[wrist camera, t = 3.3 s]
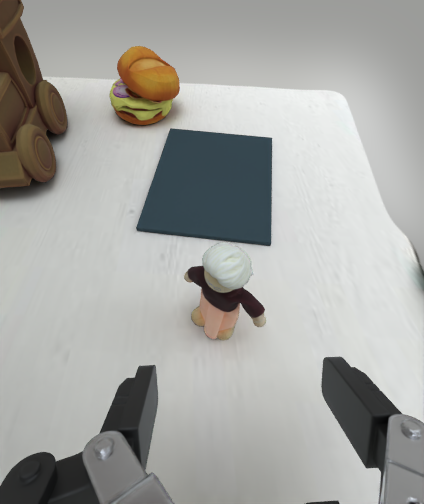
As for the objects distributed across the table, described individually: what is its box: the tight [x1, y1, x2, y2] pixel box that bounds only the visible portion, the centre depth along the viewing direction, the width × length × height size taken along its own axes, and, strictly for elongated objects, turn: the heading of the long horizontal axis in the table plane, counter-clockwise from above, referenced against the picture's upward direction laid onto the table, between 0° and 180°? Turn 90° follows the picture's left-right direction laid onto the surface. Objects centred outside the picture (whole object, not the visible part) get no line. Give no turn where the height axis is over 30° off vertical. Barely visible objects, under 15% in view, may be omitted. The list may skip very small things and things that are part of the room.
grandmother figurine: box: [184, 242, 266, 340], centre depth 22 cm, size 8×4×13 cm, turn 67°
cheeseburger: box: [110, 46, 180, 125], centre depth 44 cm, size 10×11×10 cm
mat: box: [136, 129, 272, 246], centre depth 38 cm, size 16×20×1 cm
